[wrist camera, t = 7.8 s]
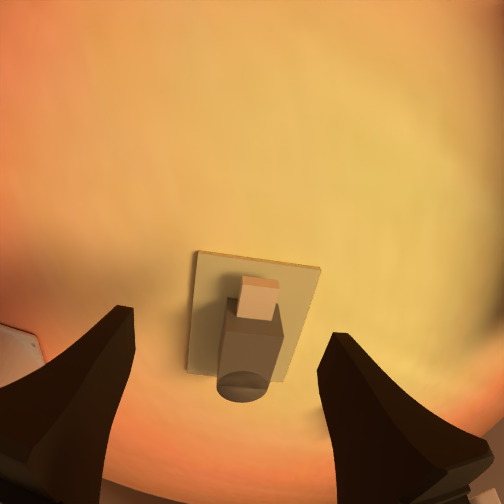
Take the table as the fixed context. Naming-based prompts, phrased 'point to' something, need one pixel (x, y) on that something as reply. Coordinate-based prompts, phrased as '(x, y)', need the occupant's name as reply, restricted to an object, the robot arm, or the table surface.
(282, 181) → the table surface
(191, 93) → the table surface
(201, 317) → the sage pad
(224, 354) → the tan-capped grey bottle
